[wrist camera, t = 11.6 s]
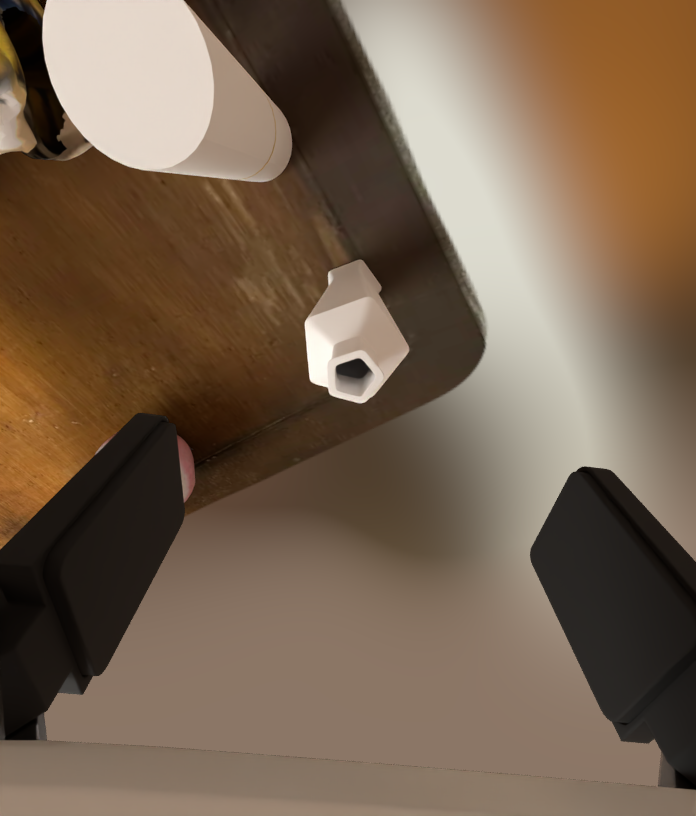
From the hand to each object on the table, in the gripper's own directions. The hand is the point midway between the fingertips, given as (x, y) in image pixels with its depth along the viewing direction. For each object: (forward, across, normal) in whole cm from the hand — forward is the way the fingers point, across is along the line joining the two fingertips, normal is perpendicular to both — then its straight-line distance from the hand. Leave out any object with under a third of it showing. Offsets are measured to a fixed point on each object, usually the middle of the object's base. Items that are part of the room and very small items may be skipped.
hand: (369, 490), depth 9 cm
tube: (+21, +8, -8) cm, 24 cm away
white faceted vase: (+21, 0, 0) cm, 21 cm away
